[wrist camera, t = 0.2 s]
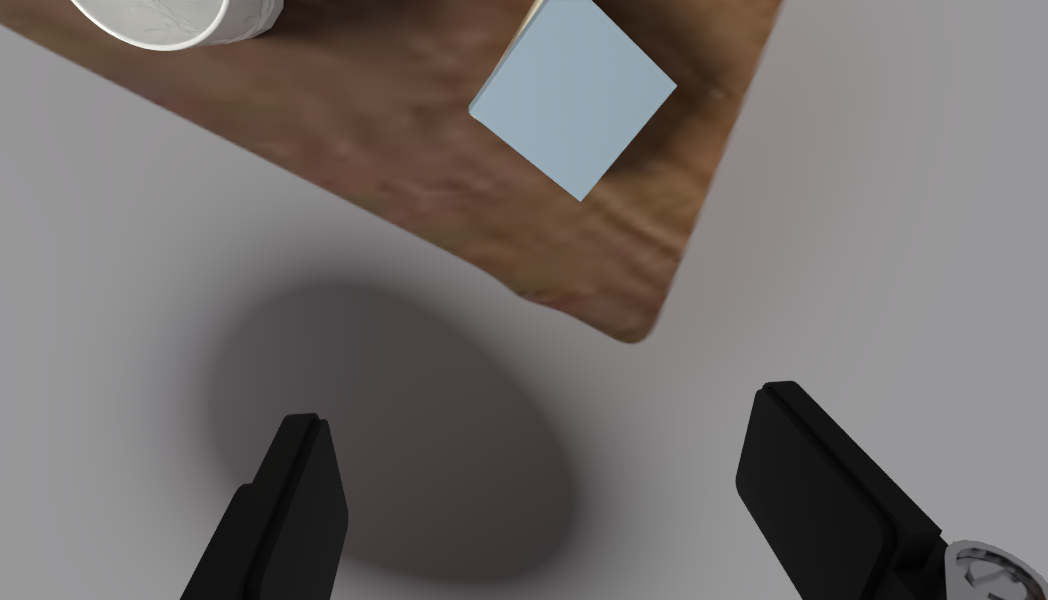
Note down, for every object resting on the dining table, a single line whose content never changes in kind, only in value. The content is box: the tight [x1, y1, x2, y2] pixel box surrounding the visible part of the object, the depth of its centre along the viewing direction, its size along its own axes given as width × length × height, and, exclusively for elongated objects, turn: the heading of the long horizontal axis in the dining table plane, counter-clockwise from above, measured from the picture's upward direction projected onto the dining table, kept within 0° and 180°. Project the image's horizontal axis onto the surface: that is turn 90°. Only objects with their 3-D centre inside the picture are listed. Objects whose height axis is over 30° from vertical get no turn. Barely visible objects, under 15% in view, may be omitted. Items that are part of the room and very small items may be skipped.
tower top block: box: [469, 0, 677, 202], centre depth 32 cm, size 9×9×4 cm
